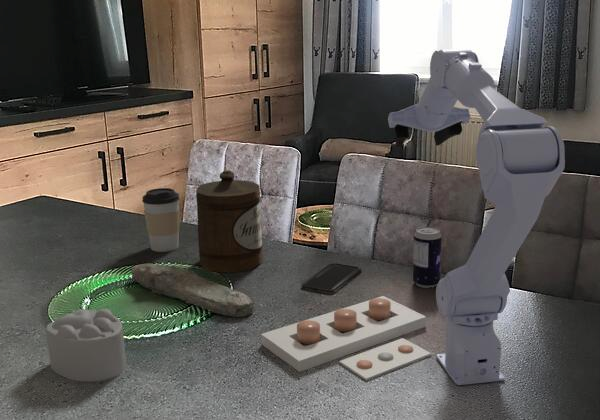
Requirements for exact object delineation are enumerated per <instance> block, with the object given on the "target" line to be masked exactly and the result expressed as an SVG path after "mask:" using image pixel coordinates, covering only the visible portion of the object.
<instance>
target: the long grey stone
mask: <svg viewBox="0 0 600 420" xmlns="http://www.w3.org/2000/svg"><path fill="white" fill-rule="evenodd" d="M130 273H131V279H132V281H133V282H137V283H138V284H139V285H140V286H142V287H143V288H146V289H148V290H150V291H151V293H152V294H158V295H164V296H166V297H169V298H172V299H179V300H181V301H184V302H185V303H186V304H188V305H195V306H197V307H200V308H202V309H203V310H206V309H208V310H207V311H209V310H210V311H209V312H211V311H212V312H211V313H213V314H215V315H216V314H218V315H223V316H225V317H226V316H229V317H234V318H235V317H236V318H241V317H246V316H249V315H251V314H253V312H254V308H255V307H254V302H253V300H252V299H251V298H250V297H249V296H248V295H246V294H245V293H244V292H241V291H238V290H235V289H232V288H230V287H228V286H225V285H222V284H221V283H220V284H219V283H217V282H214V281H211V280H209V279H207V278H204V277H202V276H200V275H198V274H197V273H196V272H194V271H193V270H189V269H188V270H187V269H185V268H181V267H178V266H177V267H176V266H175V265H174V266H173V265H171V266H169V265H163V264H154V263H149V262H148V263H142V264H138V265H134V266H133V267H132V268H131V269H130Z"/></svg>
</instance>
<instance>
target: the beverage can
mask: <svg viewBox="0 0 600 420" xmlns="http://www.w3.org/2000/svg"><path fill="white" fill-rule="evenodd" d="M440 232H441V231H440V229H439V228H437V227H432V226H424V227H418V228H416V230H415V233H414V234H413V254H412V255H413V257H412V260H413V261H412V281H413V283H415V284H416V286H417V287H419V288H423V289H432V288H435V287H437V284H438V283H439V281H440V279H441V267H442V265H441V261H442V237H443V236H442V235H441V233H440ZM434 286H435V287H434ZM429 287H430V288H429ZM431 287H432V288H431Z"/></svg>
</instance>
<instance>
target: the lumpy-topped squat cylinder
mask: <svg viewBox="0 0 600 420" xmlns="http://www.w3.org/2000/svg"><path fill="white" fill-rule="evenodd" d="M45 332H46V333H45V334H46V341H47V347H48V349H47V350H48V353H49V355H48V356H49V362H50V368H51V370H52V371H53V372H55V373H56V374H58V375H59V376H62V377H64V378H66V379H69V380H71V381H79V382H97V381H98V382H99V381H104V380H110V379H113V378H116V377H118V376H119V375H121V374H122V373H123V372H124V371H125V370H126V367H127V357H126V348H125V347H126V345H125V337H124V328H123V324H122V322H121V320H120V318H119V317H117V316H115V315H114V314H113V312H112V311H111V310H110V309H108V308H100V309H98V310H96V309H85V308H80V309H77V310H75V311H74V312H71V313H69V314H65V315H63V316H59V317H58V318H56V320H54V321H51V322H50V323H48V324H47V326H46V327H45Z"/></svg>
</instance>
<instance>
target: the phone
mask: <svg viewBox="0 0 600 420" xmlns="http://www.w3.org/2000/svg"><path fill="white" fill-rule="evenodd" d="M361 273H362V268H361V267H360V266H354V265H348V264H342V263H336V262H335V263H334V262H333V263H329V264H328V265H326V266H325V267H323V268H322V269H321V270H319V271H317V273H315V274H313V275H312V276H311V277H309V278H308V279H307V280H305V281H304V282H302V283H301V289H303V290H307V291H311V292H318V293H322V294H327V295H333V294H336V293H337V292H338V291H339V290H341V289H342V288H343V287H344V286H346V285H347V284H348V283H350V282H351V281H352V280H353V279H355V278H356V277H357V276H358V275H359V274H361Z"/></svg>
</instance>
